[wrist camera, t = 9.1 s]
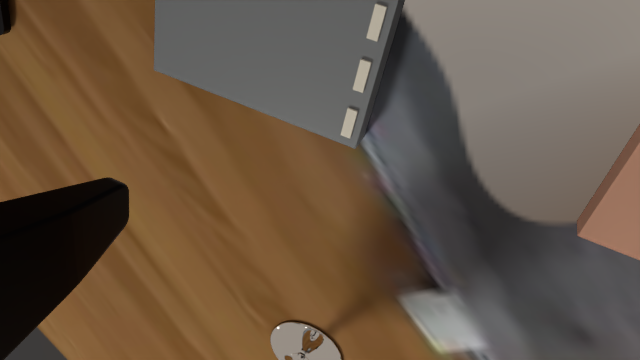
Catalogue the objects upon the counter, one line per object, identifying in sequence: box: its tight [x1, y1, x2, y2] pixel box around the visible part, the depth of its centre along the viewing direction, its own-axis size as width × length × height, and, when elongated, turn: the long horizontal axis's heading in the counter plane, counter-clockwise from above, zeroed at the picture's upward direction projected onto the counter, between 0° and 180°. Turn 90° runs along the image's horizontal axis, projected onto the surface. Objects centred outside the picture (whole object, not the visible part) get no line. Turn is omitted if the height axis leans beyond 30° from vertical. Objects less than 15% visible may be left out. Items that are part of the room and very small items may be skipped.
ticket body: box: [154, 0, 405, 149], centre depth 20 cm, size 9×8×1 cm
